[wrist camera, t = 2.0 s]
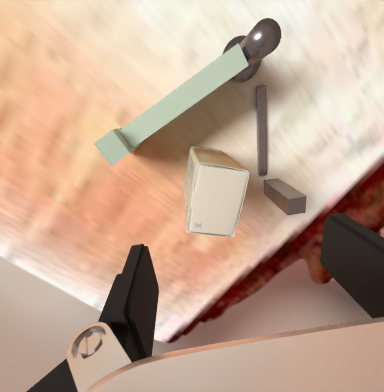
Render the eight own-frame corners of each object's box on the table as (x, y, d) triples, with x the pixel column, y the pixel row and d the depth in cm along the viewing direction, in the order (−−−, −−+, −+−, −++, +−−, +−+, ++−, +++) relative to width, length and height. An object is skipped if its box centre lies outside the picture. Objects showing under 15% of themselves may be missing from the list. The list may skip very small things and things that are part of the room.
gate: (224, 57, 23) (242, 33, 16) (234, 78, 24) (255, 64, 17) (115, 136, 25) (93, 143, 19) (128, 153, 26) (112, 166, 20)
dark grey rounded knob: (259, 34, 23) (294, -3, 16) (259, 78, 24) (292, 63, 17) (220, 40, 23) (237, 6, 16) (223, 84, 24) (241, 71, 17)
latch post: (278, 83, 25) (314, 71, 18) (277, 191, 30) (305, 212, 23) (256, 87, 25) (283, 76, 18) (258, 194, 30) (280, 216, 23)
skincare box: (212, 193, 29) (234, 241, 18) (182, 189, 29) (185, 236, 18) (222, 147, 27) (253, 170, 16) (189, 142, 27) (197, 162, 15)
